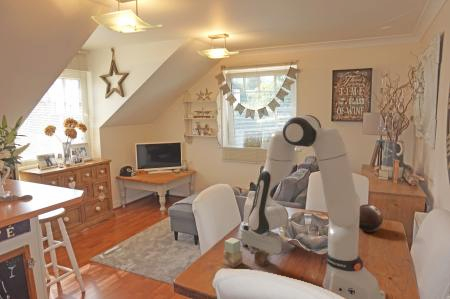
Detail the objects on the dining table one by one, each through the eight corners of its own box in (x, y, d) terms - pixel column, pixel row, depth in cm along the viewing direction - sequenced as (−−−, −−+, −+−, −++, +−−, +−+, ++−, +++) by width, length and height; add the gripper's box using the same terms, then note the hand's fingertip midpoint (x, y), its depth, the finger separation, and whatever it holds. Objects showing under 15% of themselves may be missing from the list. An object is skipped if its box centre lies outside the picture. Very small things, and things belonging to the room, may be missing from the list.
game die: (249, 253, 166) (254, 243, 159) (234, 246, 167) (238, 236, 160) (254, 239, 172) (259, 228, 165) (239, 232, 173) (243, 222, 166)
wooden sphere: (380, 238, 171) (381, 211, 169) (350, 232, 179) (351, 206, 177) (383, 228, 184) (384, 203, 182) (355, 224, 192) (356, 199, 190)
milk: (243, 241, 171) (242, 194, 167) (245, 233, 182) (244, 188, 178) (265, 243, 169) (265, 195, 165) (266, 234, 180) (266, 189, 176)
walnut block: (269, 262, 148) (269, 252, 147) (263, 266, 144) (263, 256, 144) (260, 259, 151) (260, 249, 151) (254, 263, 148) (254, 252, 147)
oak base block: (242, 262, 148) (241, 250, 147) (233, 267, 144) (233, 255, 143) (232, 258, 152) (232, 246, 151) (223, 263, 148) (223, 251, 147)
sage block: (240, 250, 147) (240, 240, 147) (233, 254, 144) (233, 243, 143) (232, 247, 151) (231, 237, 150) (224, 251, 147) (224, 240, 146)
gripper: (284, 232, 141) (283, 261, 143) (247, 221, 154) (247, 248, 156) (276, 236, 136) (276, 267, 138) (239, 224, 150) (239, 252, 152)
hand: (260, 256), depth 147 cm, fingers open, 8 cm apart
